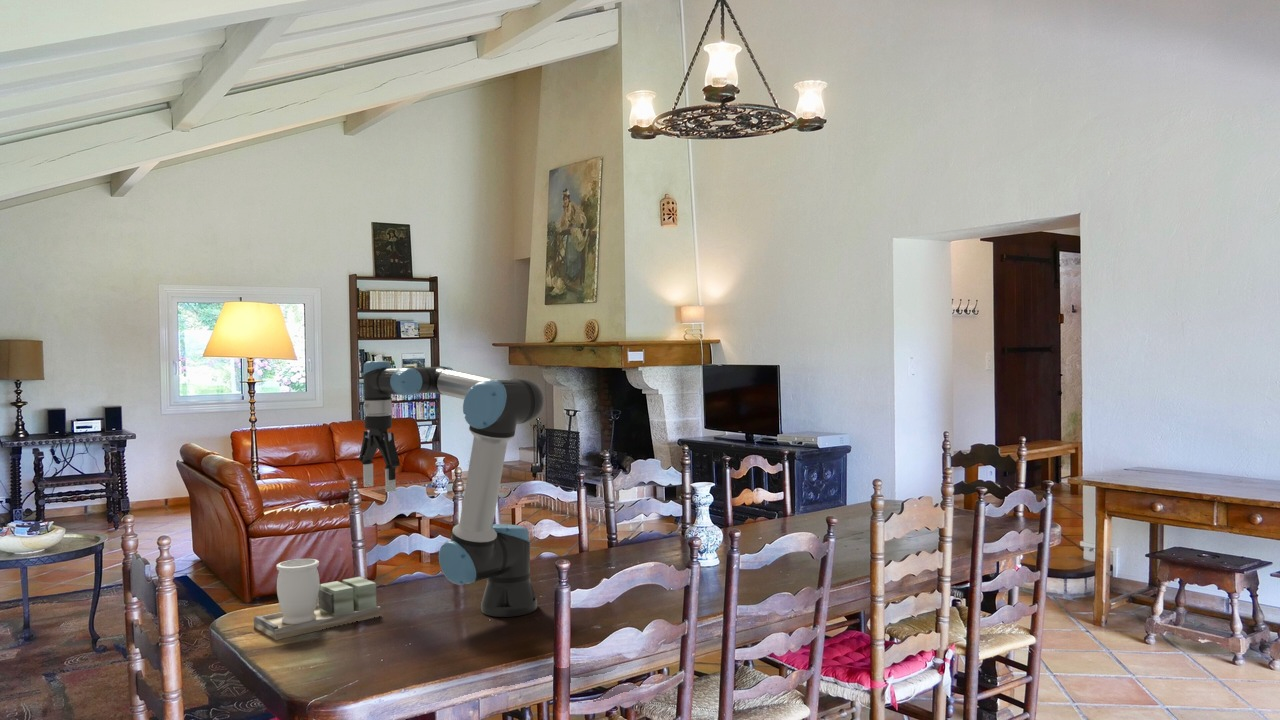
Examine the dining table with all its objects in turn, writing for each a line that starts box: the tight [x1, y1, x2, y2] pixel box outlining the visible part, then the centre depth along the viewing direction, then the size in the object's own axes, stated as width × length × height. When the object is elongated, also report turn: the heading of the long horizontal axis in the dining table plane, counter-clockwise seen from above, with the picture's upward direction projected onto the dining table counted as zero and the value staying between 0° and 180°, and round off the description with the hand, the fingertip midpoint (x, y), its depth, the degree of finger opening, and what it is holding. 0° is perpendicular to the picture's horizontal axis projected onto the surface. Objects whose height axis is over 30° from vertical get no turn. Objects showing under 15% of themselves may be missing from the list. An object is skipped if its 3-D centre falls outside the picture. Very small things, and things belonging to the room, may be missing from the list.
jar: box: [276, 558, 321, 624], centre depth 237 cm, size 11×10×15 cm
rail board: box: [253, 576, 382, 641], centre depth 241 cm, size 15×28×8 cm, turn 133°
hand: (379, 489), depth 261 cm, fingers open, 13 cm apart
